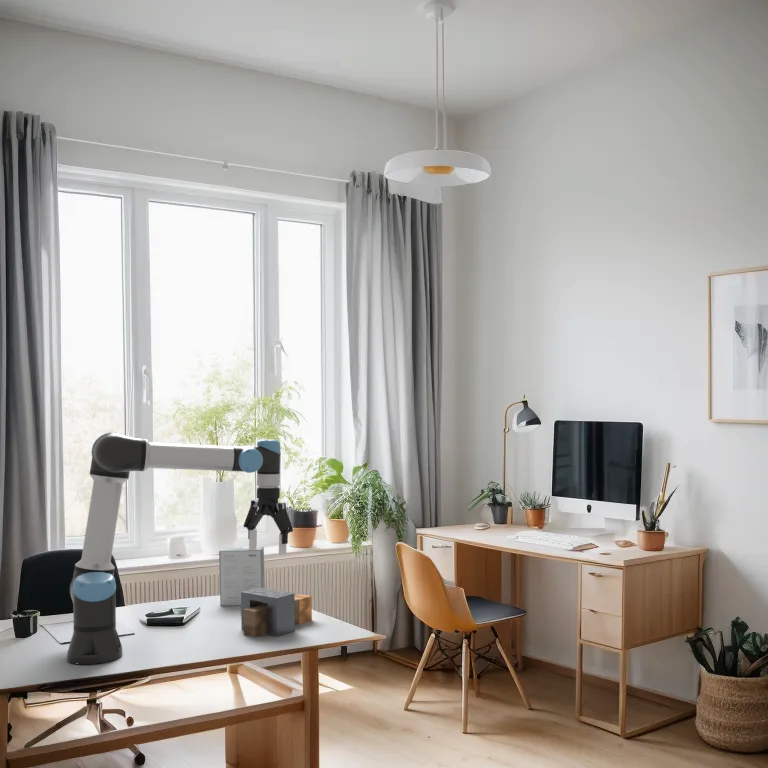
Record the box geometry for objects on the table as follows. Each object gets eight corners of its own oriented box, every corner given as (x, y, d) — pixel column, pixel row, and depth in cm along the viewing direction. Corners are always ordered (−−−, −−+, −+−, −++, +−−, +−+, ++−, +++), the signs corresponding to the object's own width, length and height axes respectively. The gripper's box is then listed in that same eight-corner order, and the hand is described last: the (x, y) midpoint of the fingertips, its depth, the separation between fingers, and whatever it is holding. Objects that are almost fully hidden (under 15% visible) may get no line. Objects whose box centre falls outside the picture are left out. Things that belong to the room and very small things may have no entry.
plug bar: (255, 637, 270) (255, 611, 271) (243, 634, 274) (242, 609, 274) (311, 620, 291) (311, 596, 291) (299, 617, 294) (299, 594, 295)
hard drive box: (265, 600, 321) (265, 546, 322) (262, 605, 313) (261, 550, 314) (223, 601, 321) (223, 547, 322) (219, 606, 314) (218, 550, 314)
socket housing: (277, 636, 271) (276, 598, 271) (241, 629, 280) (241, 591, 281) (294, 631, 277) (294, 593, 277) (259, 624, 287) (258, 587, 287)
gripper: (304, 488, 281) (303, 554, 280) (249, 483, 296) (249, 546, 296) (288, 489, 275) (287, 557, 274) (233, 485, 290) (232, 549, 290)
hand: (267, 551), depth 285 cm, fingers open, 13 cm apart
